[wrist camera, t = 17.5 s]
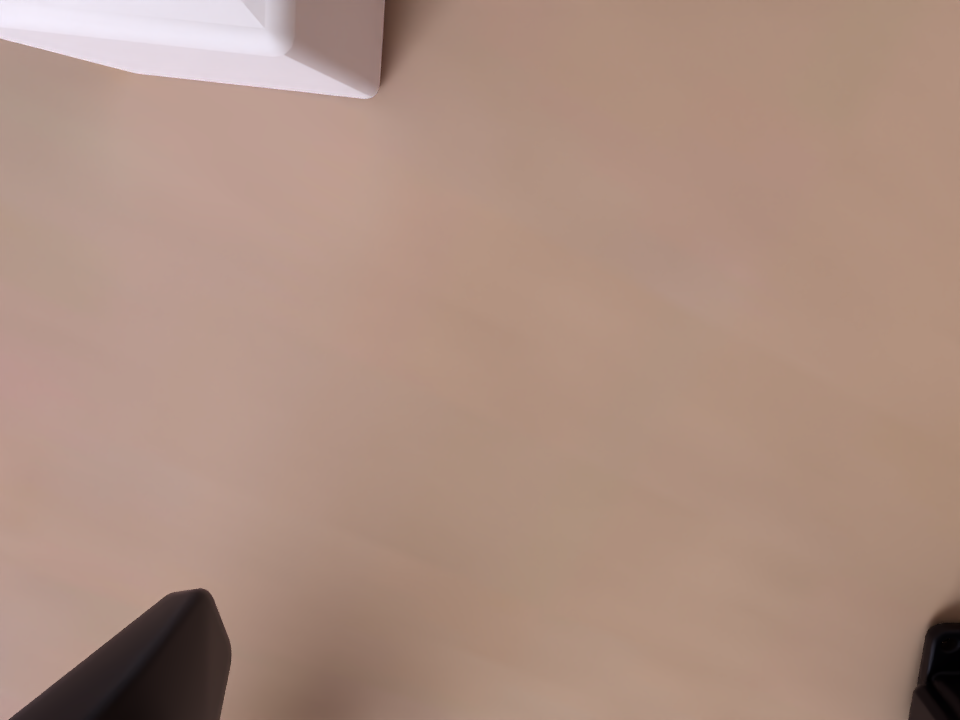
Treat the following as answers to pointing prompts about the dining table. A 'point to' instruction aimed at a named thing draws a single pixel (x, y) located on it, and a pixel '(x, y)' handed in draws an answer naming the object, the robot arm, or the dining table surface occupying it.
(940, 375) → the dining table surface
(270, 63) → the medicine bottle
